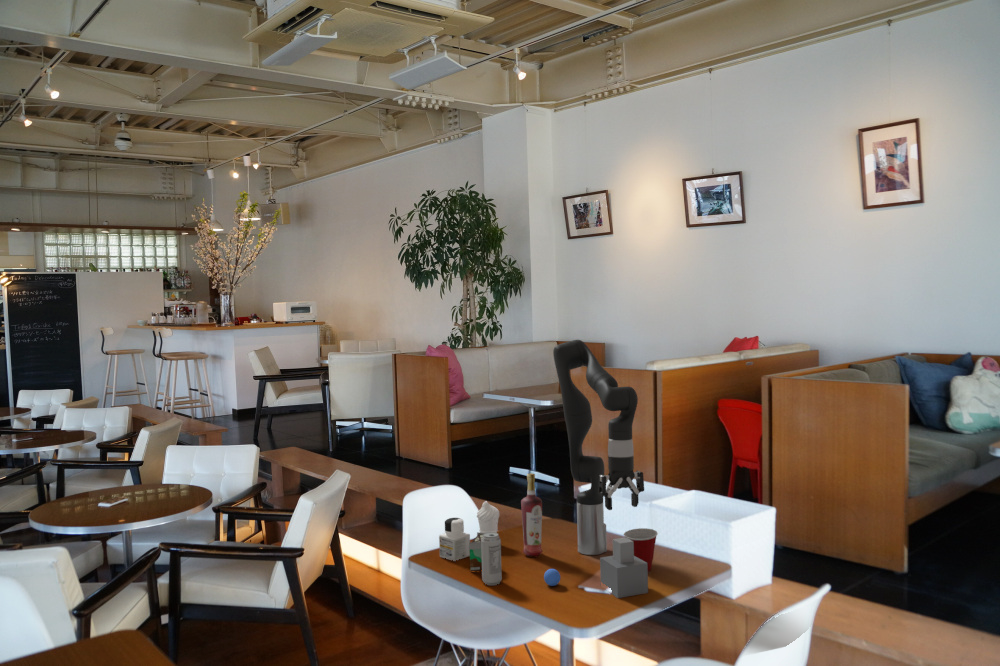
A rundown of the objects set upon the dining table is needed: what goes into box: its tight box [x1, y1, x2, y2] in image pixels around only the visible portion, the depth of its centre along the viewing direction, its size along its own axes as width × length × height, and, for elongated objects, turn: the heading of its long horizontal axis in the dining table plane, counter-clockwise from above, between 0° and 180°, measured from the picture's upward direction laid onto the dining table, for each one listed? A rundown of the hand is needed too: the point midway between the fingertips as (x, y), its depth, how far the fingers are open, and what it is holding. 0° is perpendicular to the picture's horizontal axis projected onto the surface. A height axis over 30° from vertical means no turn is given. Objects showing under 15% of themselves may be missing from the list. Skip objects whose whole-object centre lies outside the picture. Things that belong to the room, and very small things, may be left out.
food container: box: [469, 531, 485, 572], centre depth 241 cm, size 12×6×10 cm, turn 168°
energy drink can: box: [481, 532, 503, 586], centre depth 227 cm, size 6×6×15 cm
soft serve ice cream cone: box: [476, 500, 500, 533], centre depth 265 cm, size 8×8×16 cm
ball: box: [543, 568, 561, 587], centre depth 223 cm, size 5×5×5 cm
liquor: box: [520, 473, 543, 557], centre depth 252 cm, size 7×7×28 cm
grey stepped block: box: [599, 536, 649, 599], centre depth 218 cm, size 10×10×15 cm
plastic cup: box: [623, 527, 659, 572], centre depth 235 cm, size 11×11×12 cm
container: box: [438, 517, 471, 562], centre depth 253 cm, size 8×8×13 cm
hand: (621, 508), depth 218 cm, fingers open, 8 cm apart
